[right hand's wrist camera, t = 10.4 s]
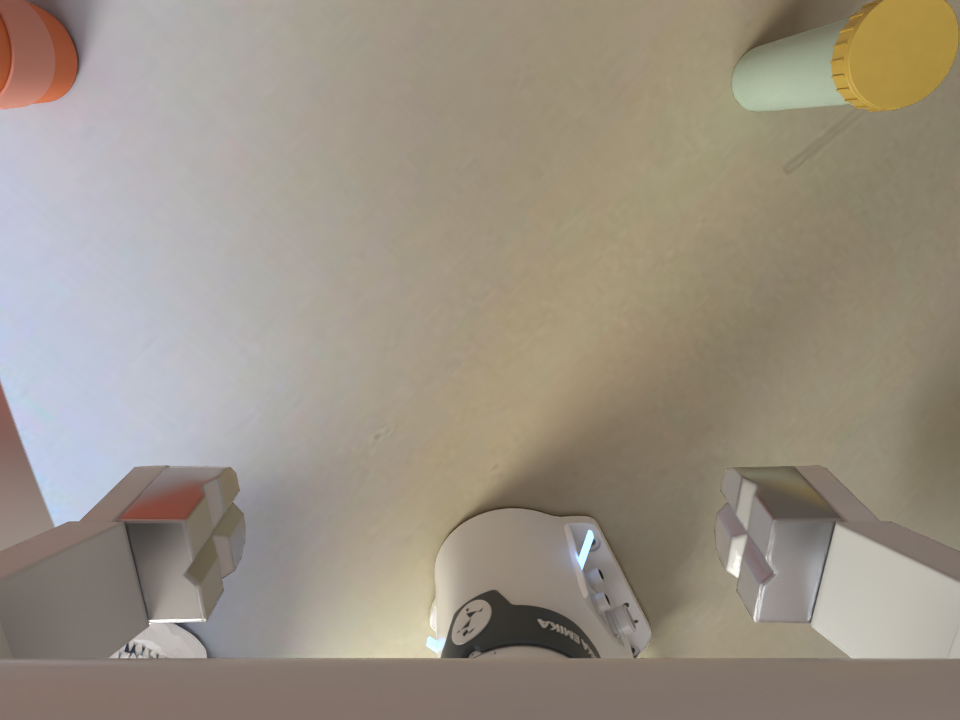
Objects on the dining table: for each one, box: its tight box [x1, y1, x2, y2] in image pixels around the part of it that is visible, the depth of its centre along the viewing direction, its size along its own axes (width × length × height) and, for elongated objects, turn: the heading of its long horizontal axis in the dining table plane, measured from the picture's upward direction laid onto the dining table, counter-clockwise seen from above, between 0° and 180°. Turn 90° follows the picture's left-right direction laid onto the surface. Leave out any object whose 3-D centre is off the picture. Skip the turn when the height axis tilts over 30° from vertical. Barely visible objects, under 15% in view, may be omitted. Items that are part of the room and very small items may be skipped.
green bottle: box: [732, 18, 850, 112], centre depth 36 cm, size 4×4×15 cm
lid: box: [830, 0, 959, 112], centre depth 29 cm, size 5×5×2 cm
